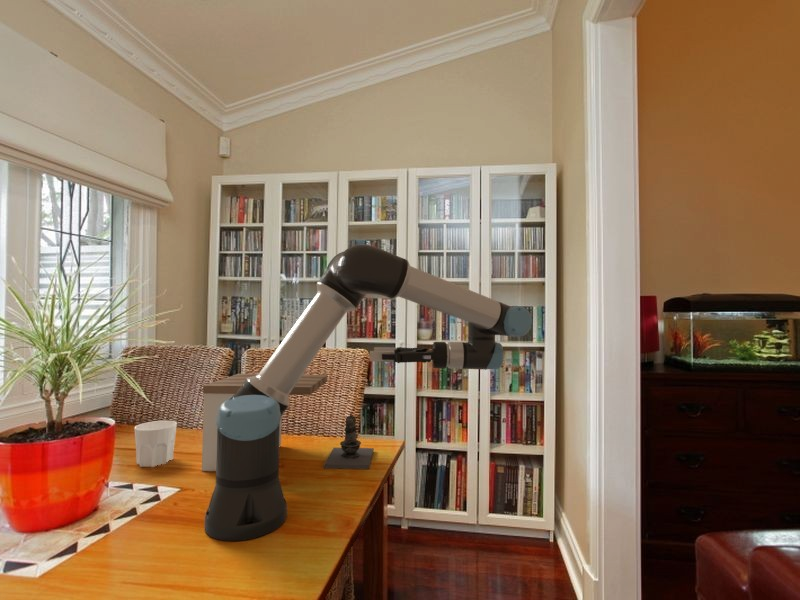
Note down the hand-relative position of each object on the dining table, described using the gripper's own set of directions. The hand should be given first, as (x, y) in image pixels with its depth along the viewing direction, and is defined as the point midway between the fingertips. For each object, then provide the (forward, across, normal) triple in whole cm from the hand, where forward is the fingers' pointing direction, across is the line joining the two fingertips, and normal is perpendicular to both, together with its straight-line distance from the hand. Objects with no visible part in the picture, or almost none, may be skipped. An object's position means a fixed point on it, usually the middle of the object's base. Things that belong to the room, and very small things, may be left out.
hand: (371, 353), depth 117 cm
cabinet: (+29, 0, -30) cm, 41 cm away
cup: (+59, -4, -30) cm, 66 cm away
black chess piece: (+6, 0, -29) cm, 30 cm away
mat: (+6, 0, -30) cm, 30 cm away
